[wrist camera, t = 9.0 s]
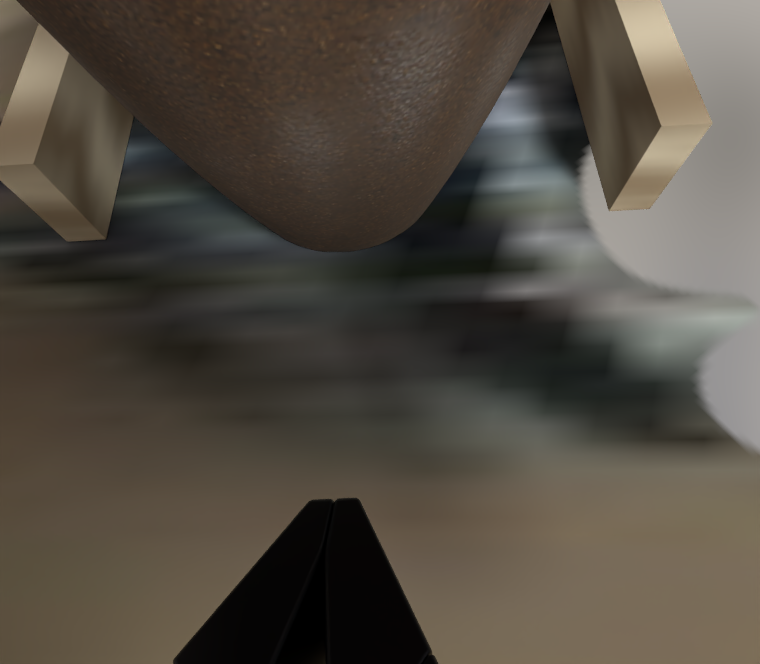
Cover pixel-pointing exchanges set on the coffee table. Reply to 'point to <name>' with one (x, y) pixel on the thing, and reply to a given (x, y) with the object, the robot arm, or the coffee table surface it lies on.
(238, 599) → the robot arm
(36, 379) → the coffee table surface
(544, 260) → the coffee table surface
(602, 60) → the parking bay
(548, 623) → the coffee table surface
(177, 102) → the plant pot
